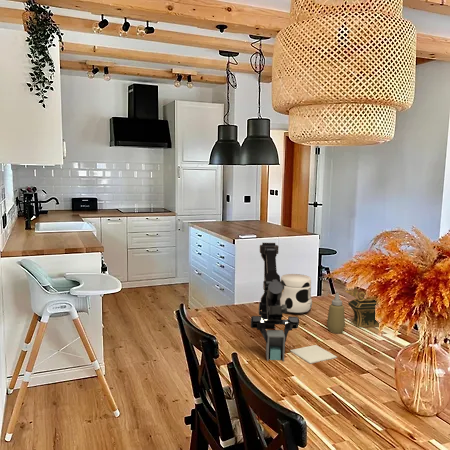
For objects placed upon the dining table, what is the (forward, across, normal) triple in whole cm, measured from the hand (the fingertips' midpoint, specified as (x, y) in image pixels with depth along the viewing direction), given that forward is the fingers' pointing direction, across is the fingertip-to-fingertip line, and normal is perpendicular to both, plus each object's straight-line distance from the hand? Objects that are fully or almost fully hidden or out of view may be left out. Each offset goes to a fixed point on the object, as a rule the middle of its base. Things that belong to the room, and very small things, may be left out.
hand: (275, 342), depth 166 cm
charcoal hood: (+4, 0, +6) cm, 7 cm away
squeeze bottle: (-17, +31, +27) cm, 44 cm away
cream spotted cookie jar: (-37, +16, +47) cm, 62 cm away
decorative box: (-24, +47, +34) cm, 63 cm away
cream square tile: (+1, +16, +8) cm, 18 cm away
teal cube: (+4, 0, +6) cm, 7 cm away
